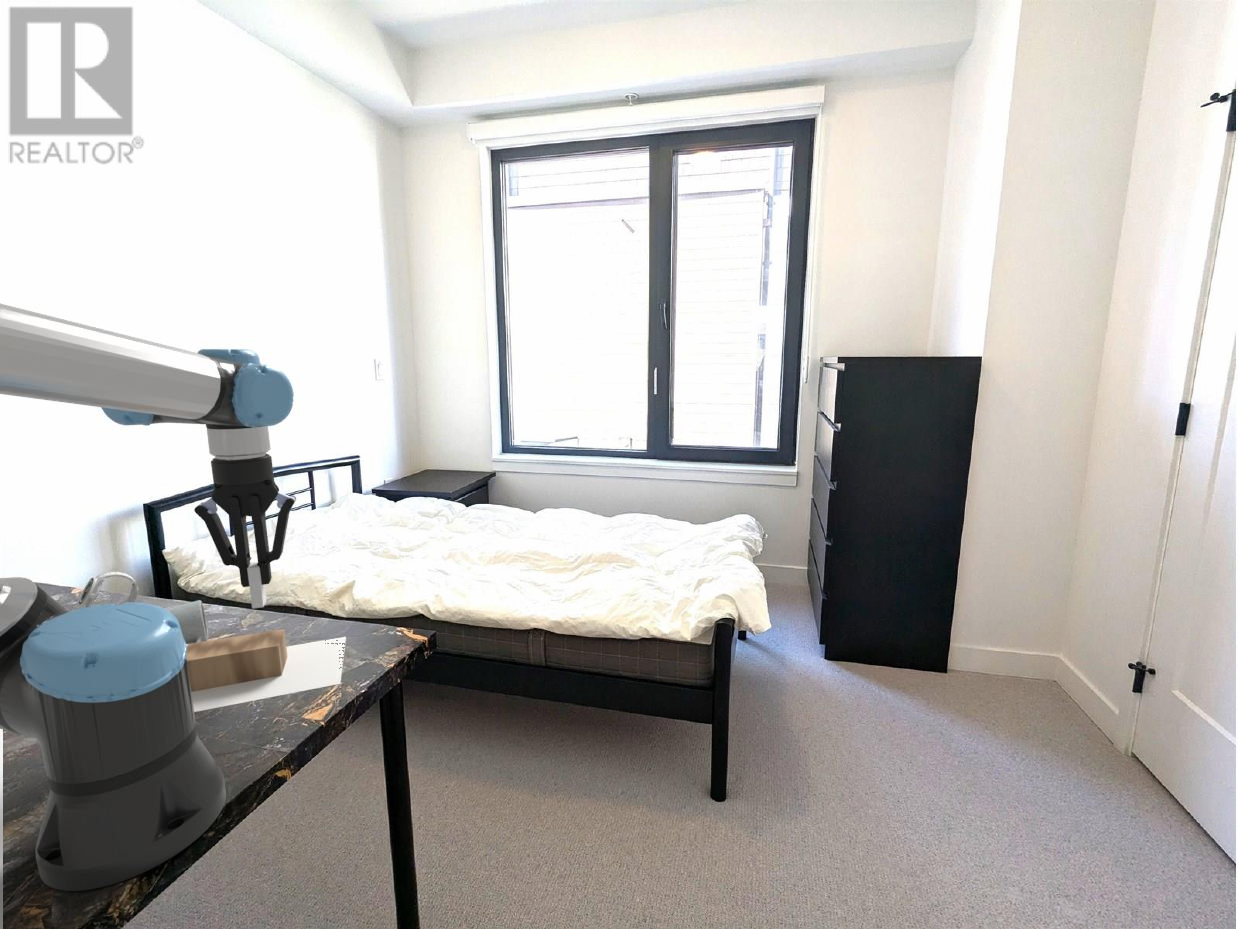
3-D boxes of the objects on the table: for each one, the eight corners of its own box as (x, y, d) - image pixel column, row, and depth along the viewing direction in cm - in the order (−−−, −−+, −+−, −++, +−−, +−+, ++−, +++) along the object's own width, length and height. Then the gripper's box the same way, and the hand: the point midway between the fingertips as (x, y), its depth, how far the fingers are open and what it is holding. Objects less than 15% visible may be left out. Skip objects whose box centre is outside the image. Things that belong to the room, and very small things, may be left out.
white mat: (340, 686, 86) (340, 683, 86) (163, 720, 77) (162, 718, 77) (346, 638, 100) (346, 636, 100) (197, 663, 92) (196, 661, 92)
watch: (84, 634, 102) (73, 576, 100) (141, 619, 107) (132, 564, 105) (87, 644, 98) (75, 585, 96) (146, 629, 104) (137, 572, 102)
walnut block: (278, 645, 87) (167, 664, 82) (281, 675, 88) (172, 695, 83) (284, 629, 92) (180, 645, 87) (287, 657, 93) (184, 674, 88)
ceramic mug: (150, 646, 97) (143, 605, 96) (208, 633, 102) (202, 593, 101) (147, 674, 89) (139, 630, 88) (210, 658, 94) (204, 615, 92)
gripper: (295, 448, 89) (309, 589, 94) (195, 453, 84) (215, 601, 89) (287, 456, 82) (304, 607, 87) (179, 462, 77) (202, 621, 82)
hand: (259, 604), depth 88 cm, fingers closed
